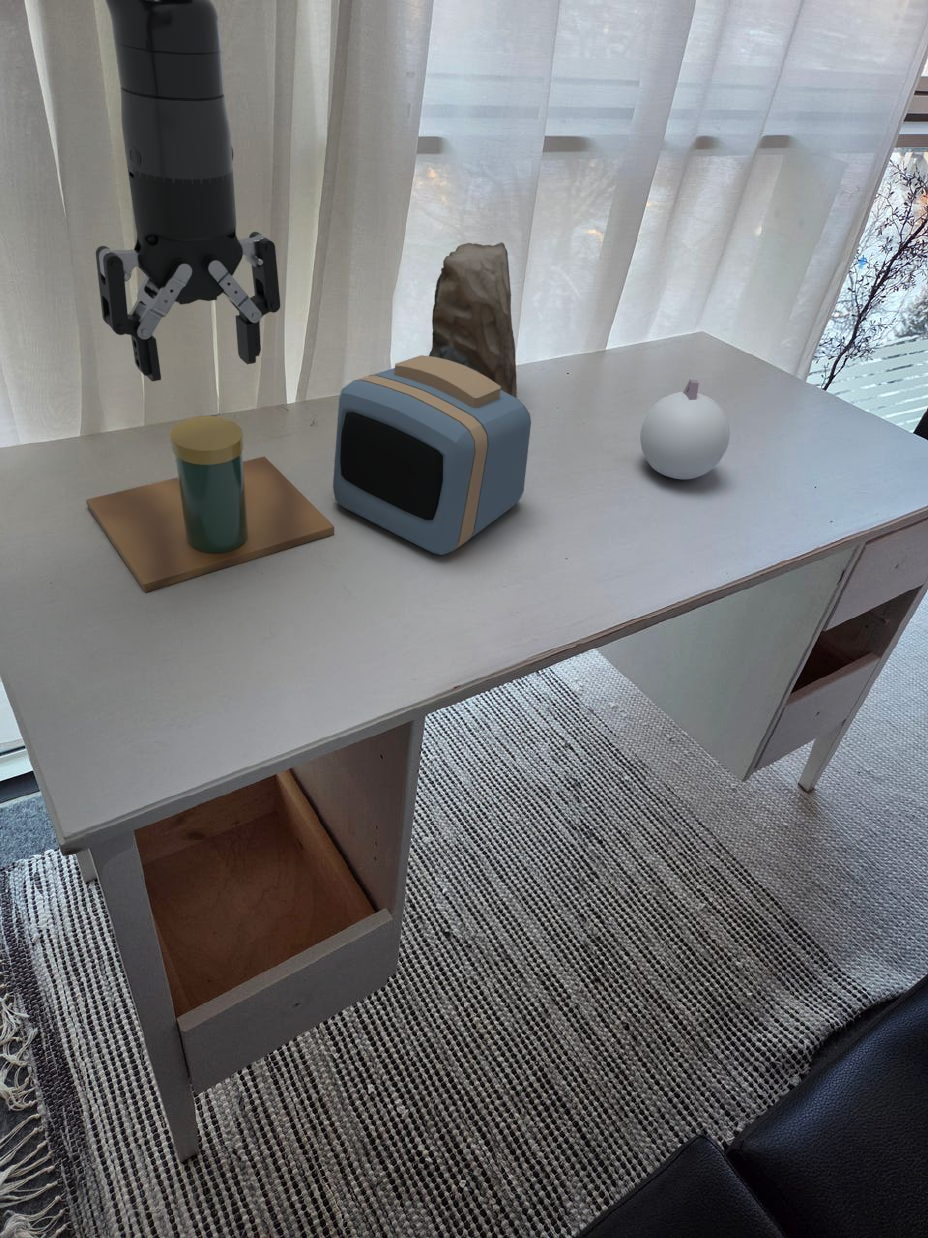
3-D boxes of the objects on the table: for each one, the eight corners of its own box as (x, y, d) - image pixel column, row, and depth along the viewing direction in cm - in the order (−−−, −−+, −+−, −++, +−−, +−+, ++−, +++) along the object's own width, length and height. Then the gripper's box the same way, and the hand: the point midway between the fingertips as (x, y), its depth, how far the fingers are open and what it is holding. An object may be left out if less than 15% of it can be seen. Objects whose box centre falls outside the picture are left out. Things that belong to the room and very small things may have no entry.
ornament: (616, 458, 107) (639, 369, 99) (678, 446, 111) (704, 359, 103) (667, 500, 100) (696, 408, 92) (730, 485, 104) (763, 396, 97)
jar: (199, 562, 80) (186, 456, 73) (173, 528, 84) (158, 424, 77) (261, 543, 84) (254, 440, 76) (233, 511, 87) (224, 410, 80)
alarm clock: (324, 506, 92) (323, 368, 81) (415, 452, 102) (424, 325, 92) (444, 568, 85) (460, 427, 75) (527, 504, 96) (551, 373, 86)
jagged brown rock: (421, 426, 108) (434, 266, 95) (414, 382, 117) (424, 231, 104) (517, 430, 110) (542, 273, 97) (502, 387, 119) (524, 239, 106)
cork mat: (145, 592, 78) (143, 584, 77) (87, 507, 87) (85, 499, 86) (334, 534, 88) (334, 526, 87) (265, 463, 97) (264, 455, 96)
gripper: (247, 145, 68) (257, 340, 78) (64, 151, 61) (102, 365, 71) (290, 169, 64) (295, 372, 74) (99, 179, 56) (134, 402, 67)
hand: (201, 368), depth 72 cm, fingers open, 8 cm apart
